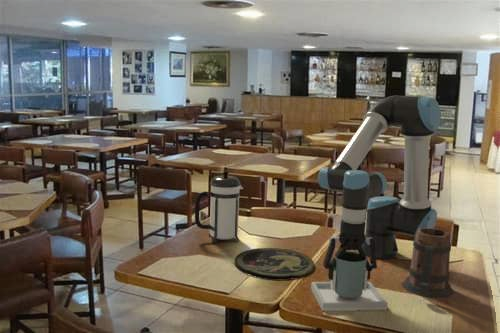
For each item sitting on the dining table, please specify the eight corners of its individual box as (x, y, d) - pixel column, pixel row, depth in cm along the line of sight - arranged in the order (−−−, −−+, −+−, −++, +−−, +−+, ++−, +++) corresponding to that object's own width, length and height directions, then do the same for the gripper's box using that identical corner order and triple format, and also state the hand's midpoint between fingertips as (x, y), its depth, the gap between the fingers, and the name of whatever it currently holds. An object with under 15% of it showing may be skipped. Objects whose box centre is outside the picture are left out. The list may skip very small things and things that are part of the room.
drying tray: (369, 288, 167) (370, 281, 167) (386, 310, 151) (387, 302, 151) (311, 289, 165) (311, 281, 165) (322, 311, 149) (323, 303, 149)
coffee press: (219, 231, 225) (221, 165, 220) (247, 238, 216) (250, 170, 211) (193, 240, 211) (194, 170, 206) (222, 248, 202) (224, 175, 197)
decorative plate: (226, 270, 175) (243, 243, 204) (225, 275, 175) (243, 248, 204) (311, 280, 169) (317, 251, 198) (311, 285, 170) (317, 256, 199)
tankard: (405, 274, 181) (410, 221, 178) (455, 284, 174) (461, 229, 171) (395, 299, 160) (400, 239, 157) (451, 310, 153) (458, 248, 150)
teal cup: (367, 299, 153) (370, 262, 151) (334, 298, 153) (336, 261, 151) (360, 286, 163) (363, 251, 161) (329, 285, 163) (331, 250, 161)
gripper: (383, 217, 159) (377, 284, 163) (315, 216, 157) (311, 284, 160) (392, 224, 151) (386, 293, 155) (321, 223, 149) (316, 294, 153)
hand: (348, 288), depth 158 cm, fingers closed on teal cup, 9 cm apart
